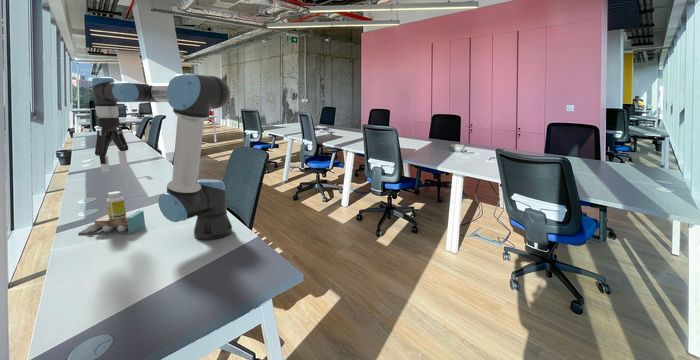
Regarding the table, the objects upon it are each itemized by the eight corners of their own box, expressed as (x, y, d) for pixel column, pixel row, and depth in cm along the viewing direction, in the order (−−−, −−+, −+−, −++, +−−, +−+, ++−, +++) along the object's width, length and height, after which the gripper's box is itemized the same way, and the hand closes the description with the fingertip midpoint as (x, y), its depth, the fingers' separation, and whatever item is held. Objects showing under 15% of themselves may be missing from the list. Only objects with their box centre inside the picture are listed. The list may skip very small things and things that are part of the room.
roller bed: (145, 225, 161) (143, 210, 160) (133, 233, 151) (131, 217, 150) (93, 226, 159) (91, 211, 158) (78, 234, 150) (75, 218, 148)
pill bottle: (129, 215, 157) (126, 190, 155) (120, 219, 151) (117, 194, 149) (114, 215, 157) (111, 190, 155) (105, 219, 151) (102, 194, 149)
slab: (137, 218, 159) (136, 214, 159) (127, 224, 151) (127, 220, 151) (106, 219, 158) (105, 214, 158) (95, 225, 150) (94, 220, 150)
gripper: (115, 116, 158) (121, 163, 162) (78, 118, 134) (87, 174, 138) (133, 115, 159) (139, 163, 163) (99, 118, 134) (107, 174, 139)
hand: (115, 168), depth 151 cm, fingers open, 13 cm apart
